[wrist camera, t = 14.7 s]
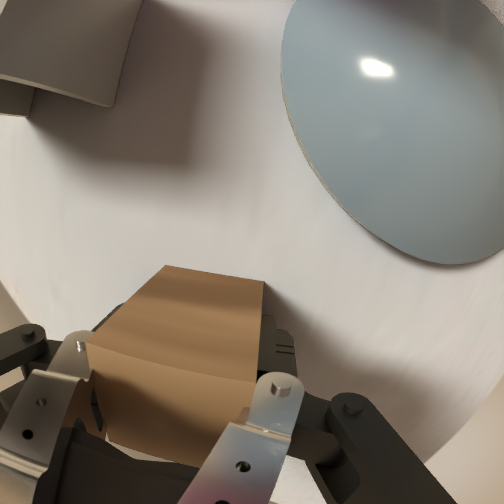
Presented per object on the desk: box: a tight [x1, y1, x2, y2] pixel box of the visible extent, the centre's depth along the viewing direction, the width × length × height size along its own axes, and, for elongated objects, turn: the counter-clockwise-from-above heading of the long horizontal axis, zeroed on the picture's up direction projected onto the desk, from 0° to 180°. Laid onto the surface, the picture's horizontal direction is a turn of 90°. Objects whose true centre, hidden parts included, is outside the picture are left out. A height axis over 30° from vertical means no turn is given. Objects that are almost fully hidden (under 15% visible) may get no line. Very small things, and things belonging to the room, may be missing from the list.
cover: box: [0, 0, 143, 117], centre depth 6 cm, size 6×6×7 cm
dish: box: [281, 0, 504, 265], centre depth 8 cm, size 14×14×1 cm
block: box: [85, 265, 264, 468], centre depth 9 cm, size 4×4×6 cm
